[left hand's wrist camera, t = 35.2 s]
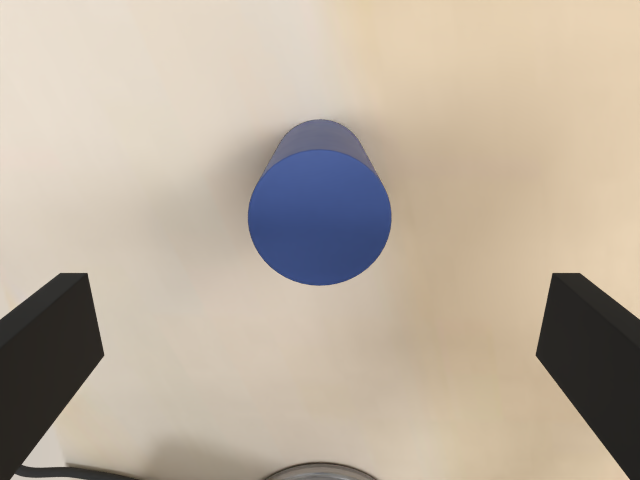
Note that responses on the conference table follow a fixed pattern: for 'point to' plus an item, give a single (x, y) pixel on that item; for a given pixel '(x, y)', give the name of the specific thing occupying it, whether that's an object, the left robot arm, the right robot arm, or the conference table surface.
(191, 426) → the conference table surface
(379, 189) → the canister
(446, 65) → the conference table surface
